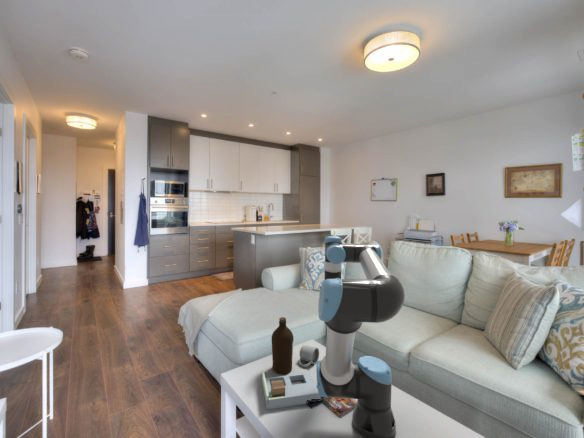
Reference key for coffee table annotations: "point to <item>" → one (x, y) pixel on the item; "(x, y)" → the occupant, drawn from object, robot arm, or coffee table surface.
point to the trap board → (290, 390)
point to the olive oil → (282, 348)
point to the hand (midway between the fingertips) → (332, 321)
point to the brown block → (277, 388)
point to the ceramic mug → (309, 355)
